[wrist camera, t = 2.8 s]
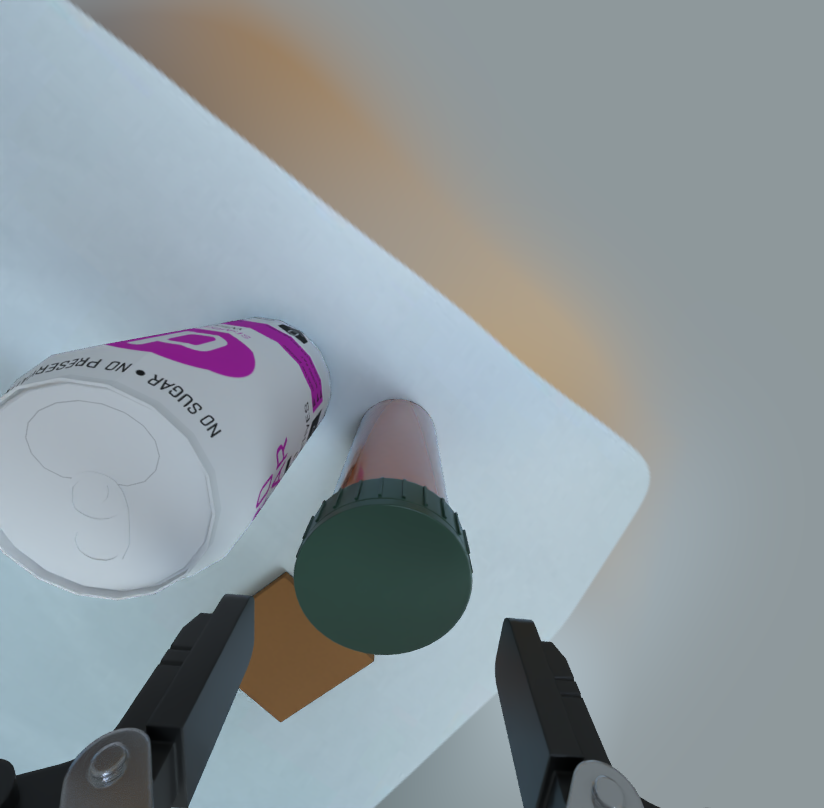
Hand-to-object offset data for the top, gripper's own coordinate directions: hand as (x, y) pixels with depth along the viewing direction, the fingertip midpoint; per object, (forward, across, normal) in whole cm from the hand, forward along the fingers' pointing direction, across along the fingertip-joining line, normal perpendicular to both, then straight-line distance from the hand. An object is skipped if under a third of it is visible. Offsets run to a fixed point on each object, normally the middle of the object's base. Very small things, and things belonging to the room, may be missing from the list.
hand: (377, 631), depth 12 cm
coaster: (+16, +7, +18) cm, 25 cm away
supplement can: (+16, +8, -3) cm, 19 cm away
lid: (+2, 0, 0) cm, 2 cm away
